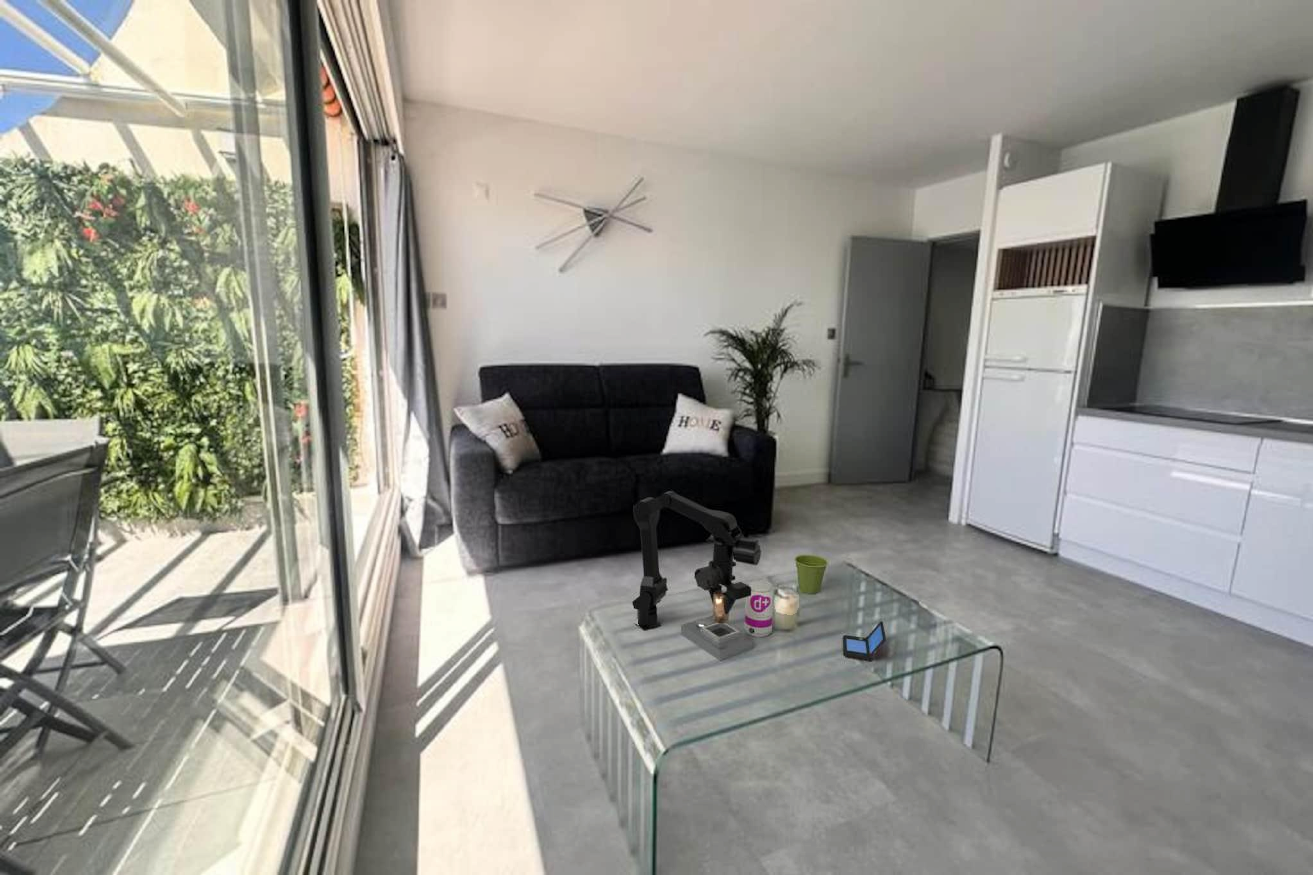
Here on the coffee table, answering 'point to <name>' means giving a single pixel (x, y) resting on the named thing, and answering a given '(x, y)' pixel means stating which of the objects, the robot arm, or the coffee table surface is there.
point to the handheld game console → (864, 644)
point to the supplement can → (759, 609)
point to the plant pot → (810, 572)
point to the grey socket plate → (716, 638)
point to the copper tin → (719, 608)
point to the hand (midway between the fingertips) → (721, 610)
